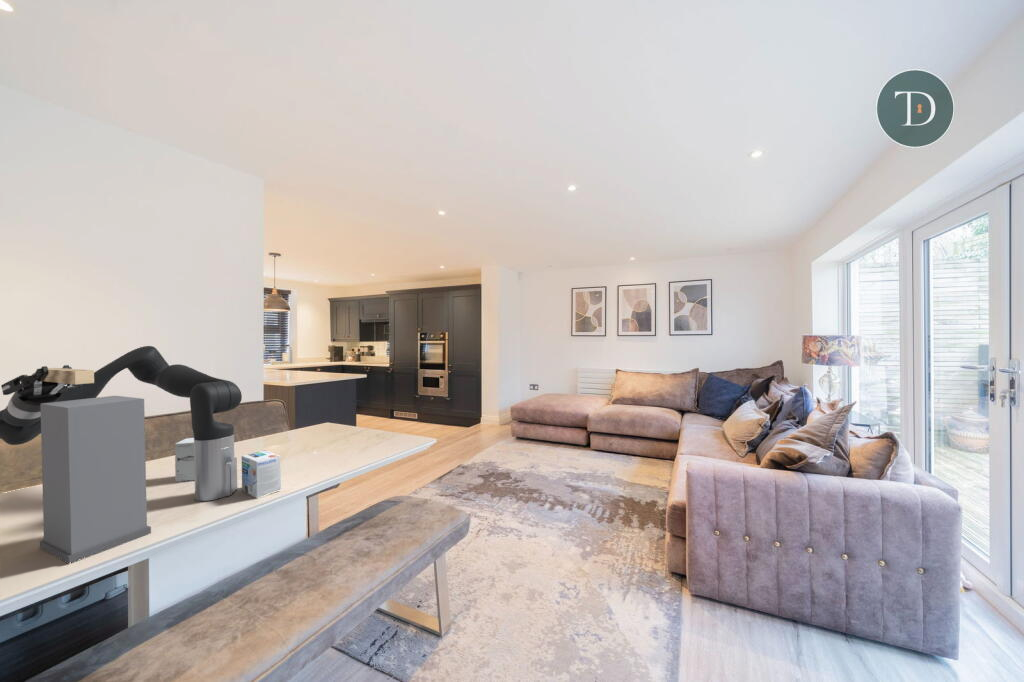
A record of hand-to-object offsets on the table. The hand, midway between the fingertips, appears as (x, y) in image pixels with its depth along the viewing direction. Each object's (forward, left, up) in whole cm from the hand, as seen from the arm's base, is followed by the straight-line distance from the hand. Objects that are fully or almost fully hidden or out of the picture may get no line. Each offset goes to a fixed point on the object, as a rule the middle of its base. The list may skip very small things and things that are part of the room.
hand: (56, 369), depth 93 cm
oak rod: (-3, +3, -3) cm, 5 cm away
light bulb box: (-42, -4, -39) cm, 57 cm away
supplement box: (-18, -26, -39) cm, 50 cm away
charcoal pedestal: (-14, +14, -39) cm, 43 cm away
